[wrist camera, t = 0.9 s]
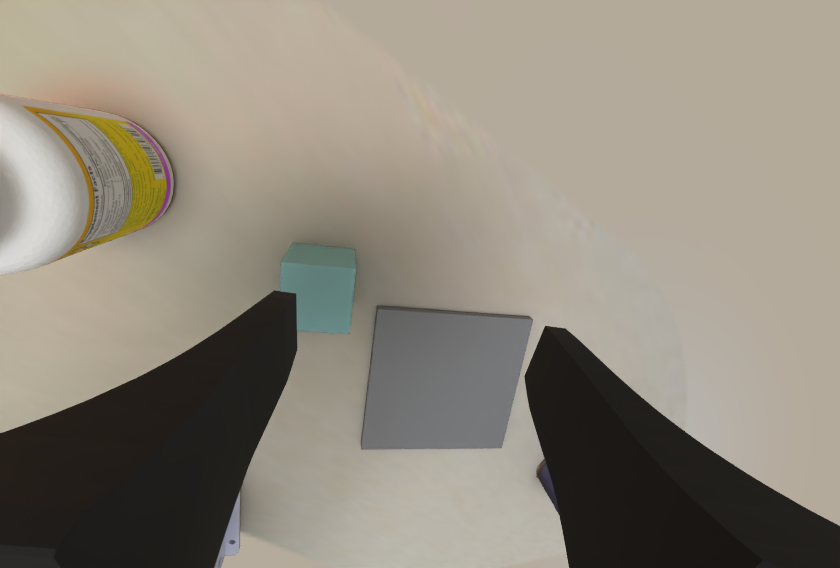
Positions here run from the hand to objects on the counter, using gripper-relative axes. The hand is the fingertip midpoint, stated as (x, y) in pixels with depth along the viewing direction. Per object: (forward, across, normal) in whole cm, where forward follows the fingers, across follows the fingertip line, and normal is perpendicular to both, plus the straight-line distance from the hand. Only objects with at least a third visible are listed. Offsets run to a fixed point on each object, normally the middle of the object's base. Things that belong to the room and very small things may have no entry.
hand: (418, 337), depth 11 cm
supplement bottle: (+14, +18, +2) cm, 23 cm away
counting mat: (+13, -4, +15) cm, 21 cm away
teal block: (+14, +6, +7) cm, 17 cm away
